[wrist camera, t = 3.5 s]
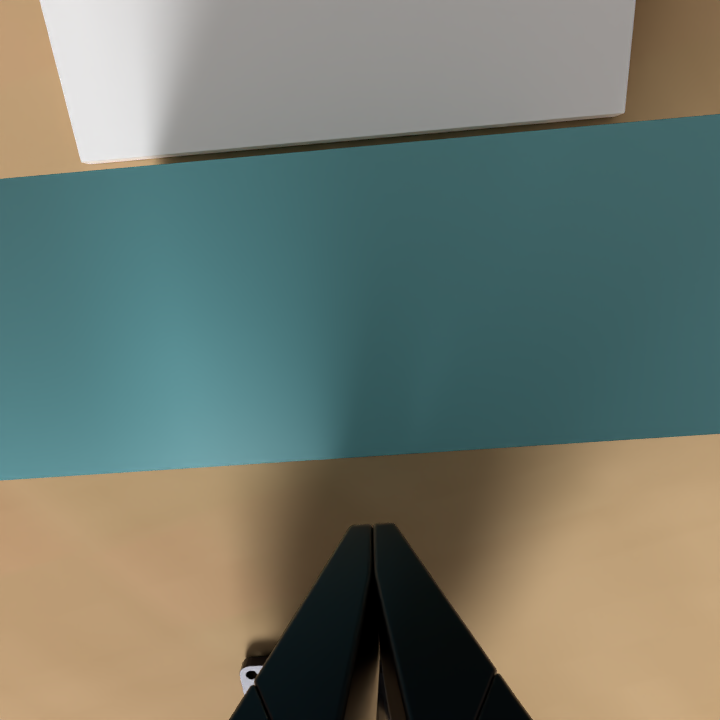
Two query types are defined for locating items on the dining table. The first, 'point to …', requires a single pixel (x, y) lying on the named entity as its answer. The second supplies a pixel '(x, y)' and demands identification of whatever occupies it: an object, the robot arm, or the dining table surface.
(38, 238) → the teal block
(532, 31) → the mat
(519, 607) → the dining table surface
